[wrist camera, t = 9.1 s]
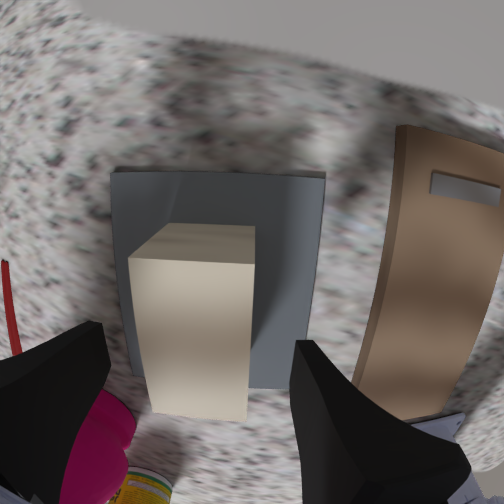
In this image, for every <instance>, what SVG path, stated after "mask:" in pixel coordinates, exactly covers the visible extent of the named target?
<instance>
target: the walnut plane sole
mask: <svg viewBox="0 0 504 504" xmlns="http://www.w3.org/2000/svg"><path fill="white" fill-rule="evenodd" d="M503 253H504V153H501V152H498V151H496V150H493V149H490V148H487V147H484V146H481V145H479V144H476V143H472V142H469V141H466V140H463V139H460V138H456V137H453V136H450V135H446V134H443V133H439V132H435V131H432V130H428V129H424V128H420V127H416V126H411V125H401V126H396V141H395V156H394V168H393V179H392V189H391V198H390V206H389V214H388V221H387V228H386V235H385V241H384V247H383V253H382V258H381V264H380V269H379V274H378V279H377V284H376V289H375V294H374V298H373V303H372V307H371V312H370V316H369V320H368V324H367V328H366V332H365V336H364V340H363V343H362V347H361V351H360V354H359V358H358V361H357V365H356V368H355V371H354V375H353V378H352V381H351V383H352V384H353V385H354V386H355V387H356V388H357V389H358V390H359V391H361V392H362V393H363V394H364V395H365V396H367V397H368V398H369V399H370V400H372V401H373V402H374V403H376V404H377V405H378V406H380V407H381V408H383V409H384V410H386V411H387V412H389V413H390V414H392V415H394V416H395V417H397V418H398V419H400V420H406V419H412V418H417V417H422V416H427V415H432V414H437V413H441V411H442V410H443V408H444V406H445V404H446V402H447V401H448V399H449V397H450V395H451V393H452V391H453V389H454V387H455V385H456V383H457V381H458V379H459V377H460V375H461V373H462V371H463V369H464V367H465V364H466V362H467V360H468V358H469V356H470V353H471V351H472V349H473V346H474V344H475V341H476V339H477V336H478V334H479V331H480V328H481V326H482V323H483V320H484V318H485V315H486V312H487V309H488V306H489V303H490V300H491V297H492V294H493V290H494V287H495V284H496V280H497V276H498V273H499V269H500V265H501V261H502V257H503Z"/></svg>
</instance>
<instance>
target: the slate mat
mask: <svg viewBox="0 0 504 504" xmlns="http://www.w3.org/2000/svg"><path fill="white" fill-rule="evenodd" d="M110 181H111V214H112V231H113V245H114V257H115V267H116V276H117V284H118V292H119V300H120V307H121V313H122V320H123V326H124V332H125V338H126V343H127V348H128V353H129V358H130V363H131V368H132V373H133V376H138V377H144V378H145V374H144V369H143V364H142V359H141V353H140V347H139V342H138V335H137V329H136V323H135V316H134V308H133V301H132V293H131V284H130V275H129V264H128V257H129V256H130V255H132V254H133V253H134V252H135V251H136V250H137V249H138V248H140V247H141V246H142V245H143V244H144V243H145V242H147V241H148V240H149V239H150V238H151V237H153V236H154V235H155V234H156V233H157V232H159V231H160V230H161V229H162V228H163V227H165V226H166V225H167V224H168V223H190V224H217V225H241V226H255V270H254V289H253V309H252V328H251V346H250V365H249V384H248V388H260V389H289V381H290V374H291V368H292V362H293V355H294V349H295V342H296V340H305V338H306V332H307V326H308V319H309V313H310V306H311V299H312V292H313V285H314V277H315V269H316V261H317V253H318V244H319V235H320V226H321V216H322V206H323V195H324V183H325V179H323V178H312V177H300V176H287V175H272V174H254V173H232V172H192V171H150V172H113V173H110Z"/></svg>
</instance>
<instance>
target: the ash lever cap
mask: <svg viewBox="0 0 504 504" xmlns="http://www.w3.org/2000/svg"><path fill="white" fill-rule="evenodd" d="M128 264H129V275H130V284H131V293H132V301H133V308H134V316H135V323H136V329H137V335H138V342H139V347H140V353H141V359H142V364H143V369H144V374H145V379H146V384H147V388H148V393H149V397H150V402H151V406H152V410H153V412H155V413H162V414H168V415H176V416H183V417H192V418H201V419H212V420H225V421H242V422H246V420H247V402H248V384H249V365H250V346H251V328H252V309H253V289H254V270H255V226H241V225H217V224H190V223H168V224H167V225H166V226H165V227H163V228H162V229H161V230H160V231H159V232H157V233H156V234H155V235H154V236H153V237H151V238H150V239H149V240H148V241H147V242H145V243H144V244H143V245H142V246H141V247H140V248H138V249H137V250H136V251H135V252H134V253H133V254H132V255H130V256H129V257H128Z"/></svg>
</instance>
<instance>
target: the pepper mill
mask: <svg viewBox="0 0 504 504" xmlns="http://www.w3.org/2000/svg"><path fill="white" fill-rule="evenodd" d="M135 430H136V424H135V420H134V418H133V416H132V414H131V412H130V411H129V410H128V409H127V408H126V406H125V405H124V404H123V403H122V402H120V401H119V400H118V399H117V398H116V397H114V396H113V395H112V394H110V393H108V392H106V391H105V390H103V389H101V391H100V393H99V395H98V397H97V398H96V400H95V402H94V404H93V406H92V407H91V409H90V411H89V413H88V415H87V416H86V418H85V420H84V422H83V424H82V426H81V428H80V430H79V432H78V434H77V437H76V439H75V442H74V445H73V448H72V450H71V453H70V457H69V460H68V463H67V467H66V470H65V474H64V479H63V483H62V488H61V493H60V500H59V504H105V503H106V502H107V501H108V500H109V499H110V498H112V497H113V496H114V495H115V493H116V492H117V491H118V489H119V488H120V487H121V485H122V484H123V482H124V480H125V477H126V475H127V473H128V460H127V457H126V455H125V453H124V450H126V449H127V448H128V447H129V446H130V443H131V441H132V438H133V435H134V433H135Z"/></svg>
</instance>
